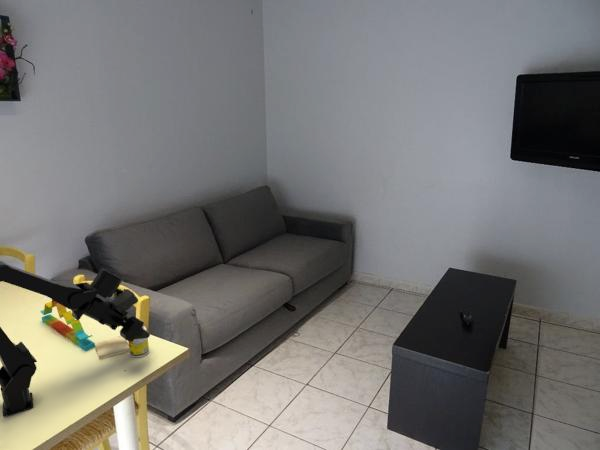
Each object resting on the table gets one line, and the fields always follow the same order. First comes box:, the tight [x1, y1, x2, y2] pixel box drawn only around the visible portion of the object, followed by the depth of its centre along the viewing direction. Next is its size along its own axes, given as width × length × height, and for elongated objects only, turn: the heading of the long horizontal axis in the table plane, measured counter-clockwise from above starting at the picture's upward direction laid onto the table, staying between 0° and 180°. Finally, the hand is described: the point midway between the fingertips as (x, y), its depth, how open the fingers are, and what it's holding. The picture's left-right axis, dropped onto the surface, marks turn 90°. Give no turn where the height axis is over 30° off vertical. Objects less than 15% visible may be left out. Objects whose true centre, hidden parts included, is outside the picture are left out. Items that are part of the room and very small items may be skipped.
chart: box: [40, 299, 96, 352], centre depth 146 cm, size 30×3×15 cm, turn 52°
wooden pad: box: [94, 335, 130, 360], centre depth 140 cm, size 9×9×1 cm
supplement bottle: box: [127, 325, 150, 358], centre depth 136 cm, size 6×6×10 cm
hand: (141, 330), depth 136 cm, fingers open, 9 cm apart
